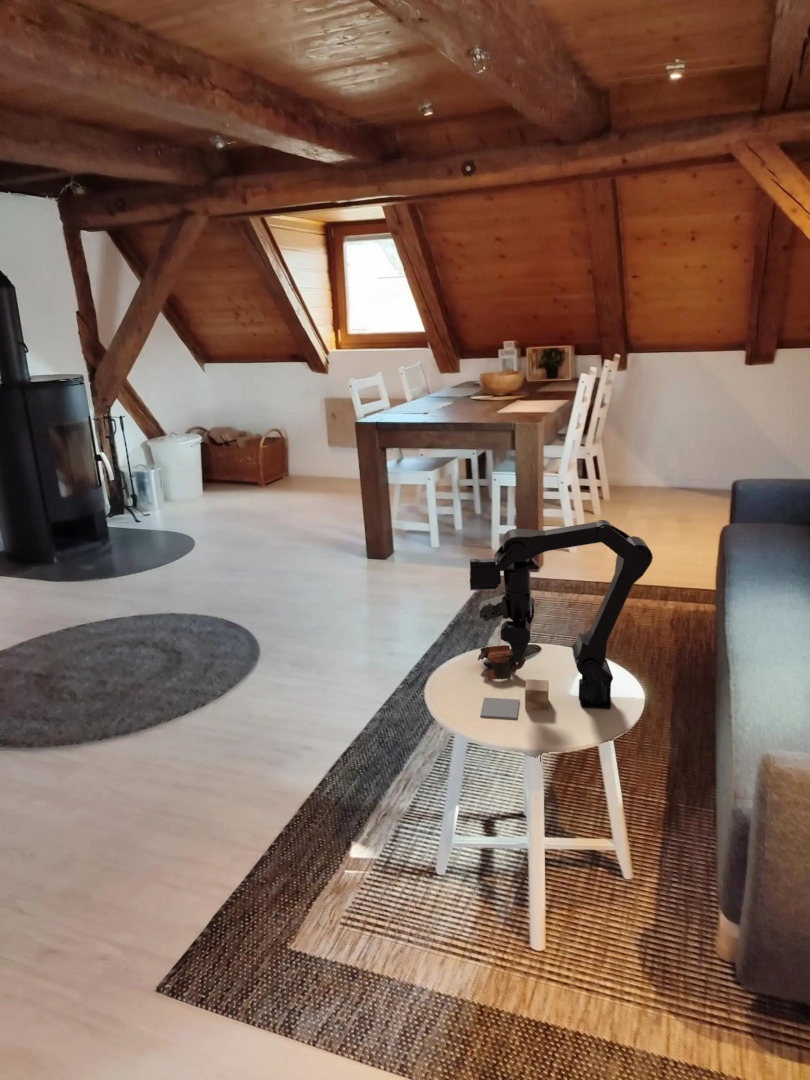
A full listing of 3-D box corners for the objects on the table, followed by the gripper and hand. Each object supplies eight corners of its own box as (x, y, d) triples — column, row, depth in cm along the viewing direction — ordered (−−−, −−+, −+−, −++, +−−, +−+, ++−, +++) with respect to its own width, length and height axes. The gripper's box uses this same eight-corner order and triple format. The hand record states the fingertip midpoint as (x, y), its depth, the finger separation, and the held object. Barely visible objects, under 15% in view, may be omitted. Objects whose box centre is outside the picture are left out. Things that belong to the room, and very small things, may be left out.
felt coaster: (519, 701, 177) (519, 699, 177) (516, 719, 169) (516, 717, 169) (484, 698, 178) (484, 697, 178) (480, 716, 171) (480, 715, 171)
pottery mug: (475, 682, 188) (471, 648, 189) (488, 682, 196) (484, 649, 198) (522, 676, 183) (518, 641, 185) (534, 676, 191) (529, 643, 193)
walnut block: (548, 700, 177) (548, 680, 175) (547, 711, 172) (547, 691, 171) (526, 698, 178) (526, 679, 176) (525, 709, 173) (525, 689, 172)
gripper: (485, 572, 179) (488, 634, 184) (474, 603, 162) (478, 671, 166) (534, 572, 176) (535, 635, 181) (528, 604, 159) (531, 672, 164)
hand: (519, 652), depth 173 cm, fingers open, 9 cm apart
